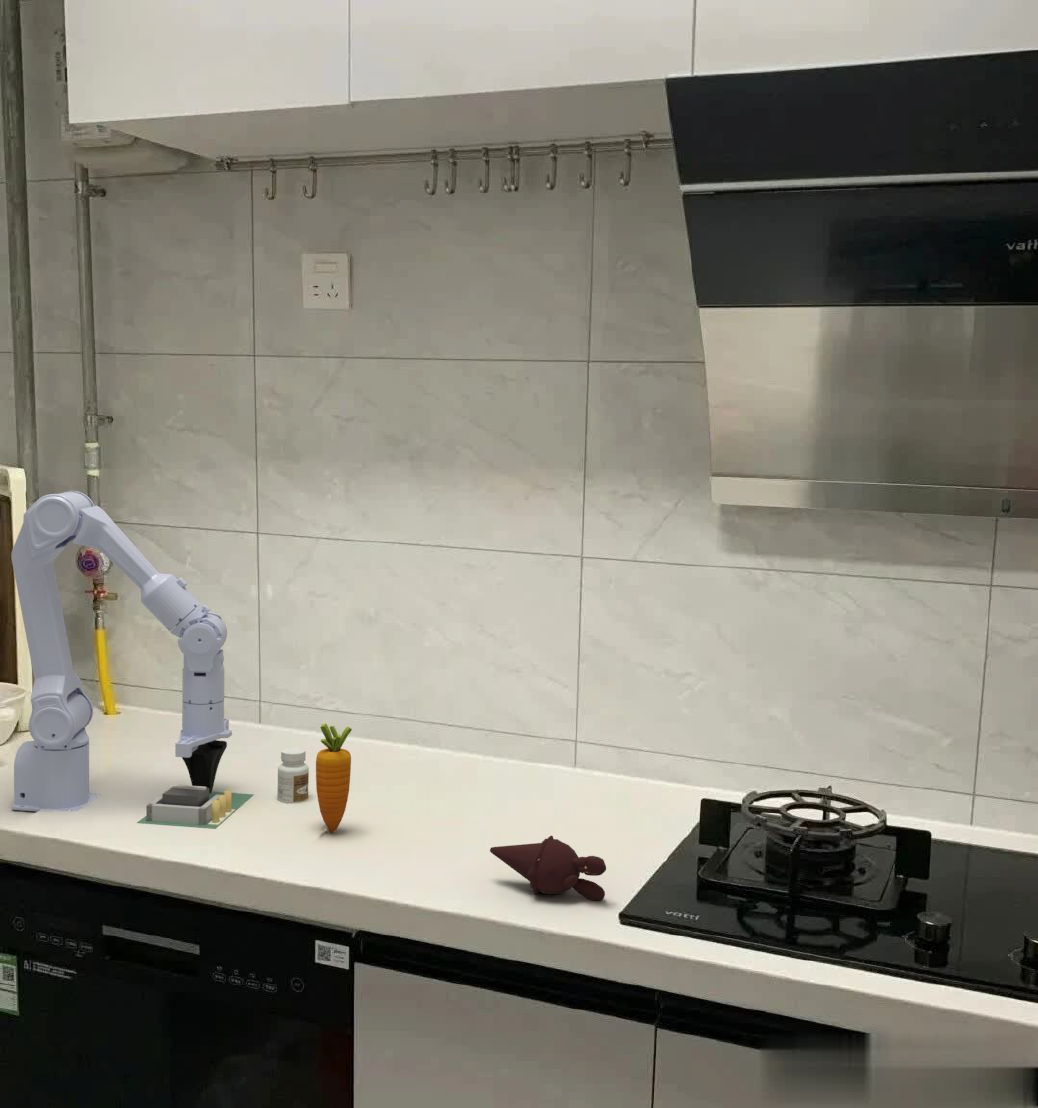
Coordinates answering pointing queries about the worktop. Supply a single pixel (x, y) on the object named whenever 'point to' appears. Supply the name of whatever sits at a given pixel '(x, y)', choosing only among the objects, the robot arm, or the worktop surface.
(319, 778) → the carrot
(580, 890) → the icecream
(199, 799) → the plug block
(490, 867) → the worktop surface
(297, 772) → the pill bottle
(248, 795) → the header board
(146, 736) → the worktop surface
